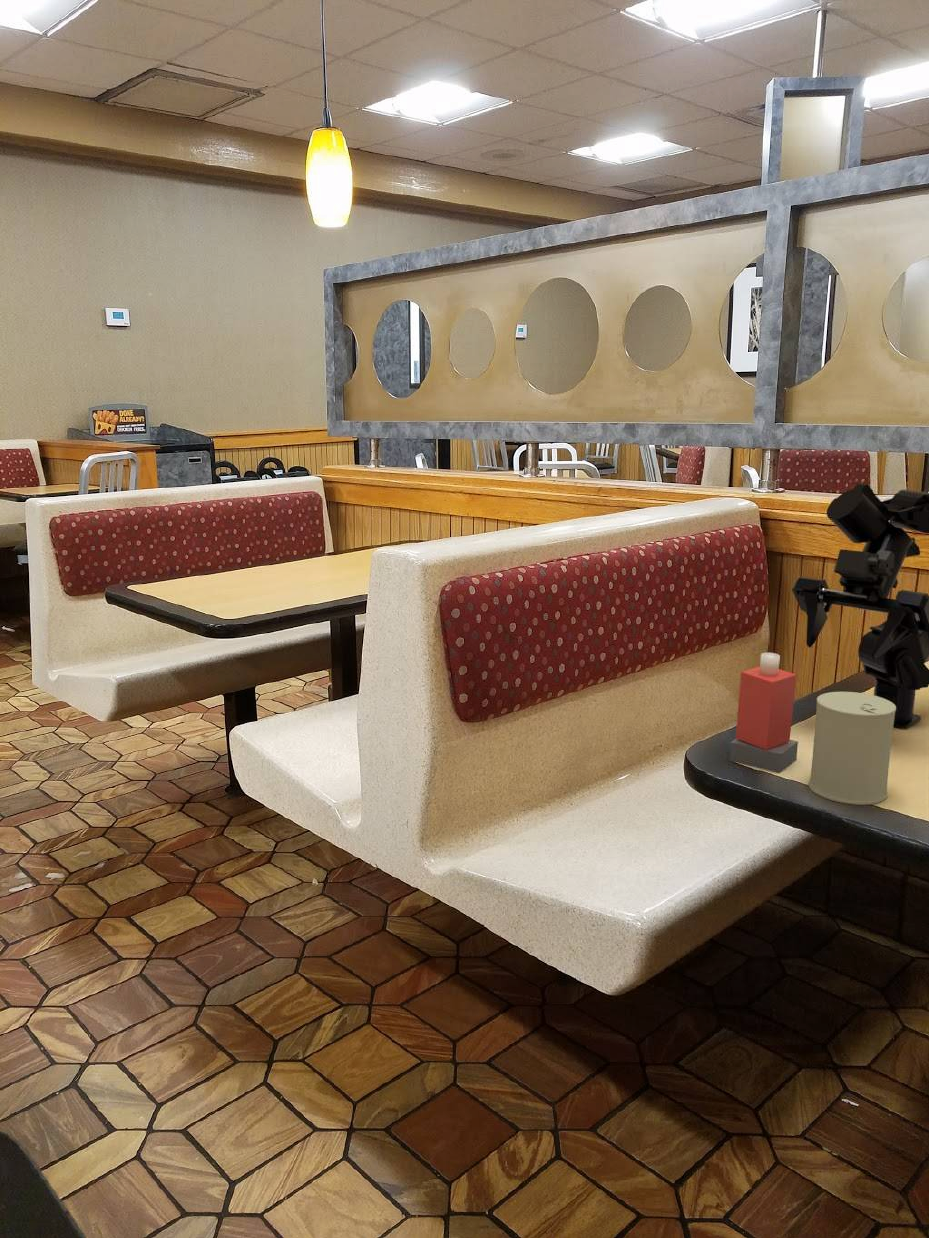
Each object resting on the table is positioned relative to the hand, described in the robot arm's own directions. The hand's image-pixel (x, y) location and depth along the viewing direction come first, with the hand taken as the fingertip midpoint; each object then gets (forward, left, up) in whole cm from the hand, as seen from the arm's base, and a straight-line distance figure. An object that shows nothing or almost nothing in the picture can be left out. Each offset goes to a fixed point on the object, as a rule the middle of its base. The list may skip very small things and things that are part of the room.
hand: (839, 651), depth 135 cm
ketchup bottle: (+13, -4, -11) cm, 17 cm away
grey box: (+13, -4, -14) cm, 19 cm away
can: (+15, +9, -14) cm, 22 cm away
